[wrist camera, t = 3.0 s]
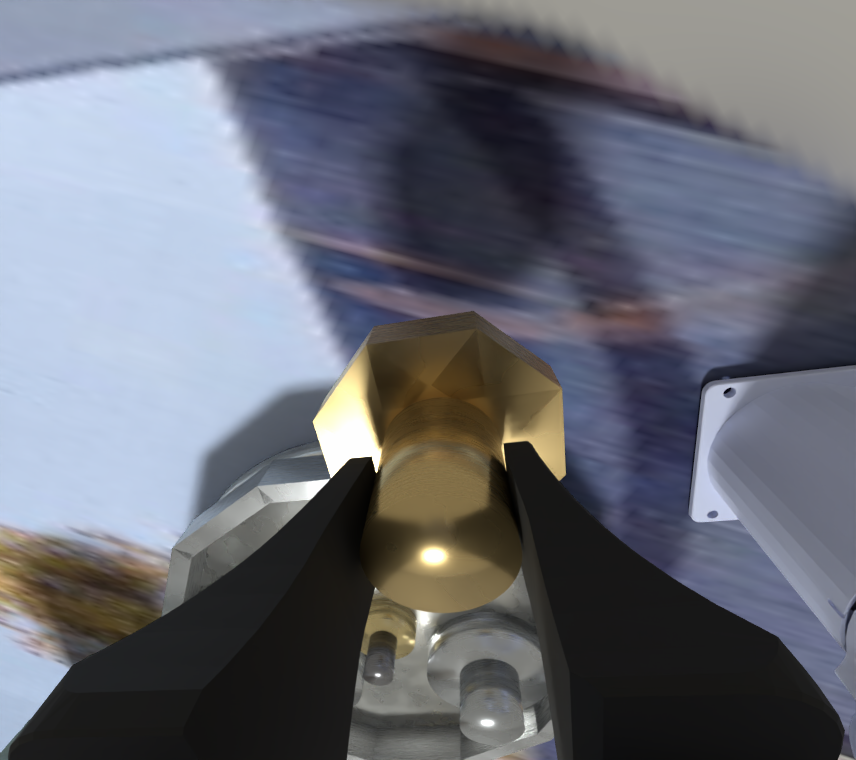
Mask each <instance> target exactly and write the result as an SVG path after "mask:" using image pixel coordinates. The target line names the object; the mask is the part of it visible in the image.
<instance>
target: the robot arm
mask: <svg viewBox="0 0 856 760" xmlns="http://www.w3.org/2000/svg"><path fill="white" fill-rule="evenodd" d="M730 387H731V390H730V391H729V392H728V393H726V394H723V393H724V391H725V390H726V389H727V388H730ZM503 444H504V454H505V463H506V473H507V478H508V483H509V489H510V494H511V498H512V503H513V508H514V513H515V518H516V523H517V528H518V533H519V538H520V543H521V548H522V563H521V568H522V572H523V576H524V580H525V584H526V588H527V592H528V596H529V600H530V604H531V608H532V612H533V616H534V620H535V624H536V629H537V634H538V639H539V643H540V649H541V655H542V662H543V668H544V674H545V681H546V687H547V693H548V700H549V706H550V713H551V719H552V726H553V732H554V738H555V745H556V751H557V758H558V760H838V757H839V755H840V752H841V749H842V745H843V738H844V732H845V730H844V727H843V725H842V722H841V720H840V717H839V715H838V714H837V712H836V711H835V709H834V708H833V707H832V705H831V704H830V702H829V701H828V699H827V698H826V697H825V695H824V694H823V692H822V691H821V689H820V688H819V687H818V685H817V684H816V682H815V681H814V680H813V679H812V677H811V676H810V675H809V674H808V672H807V671H806V670H805V669H804V667H803V666H802V665H801V664H800V663H799V661H798V660H797V659H796V658H795V657H794V656H793V654H792V653H791V652H790V651H789V650H788V649H787V647H786V646H785V645H784V644H783V643H782V641H781V640H780V639H779V638H778V637H777V636H775V635H773V634H771V633H769V632H768V631H766V630H764V629H762V628H760V627H758V626H756V625H754V624H752V623H750V622H749V621H747V620H745V619H743V618H741V617H739V616H737V615H735V614H733V613H731V612H730V611H728V610H726V609H724V608H722V607H720V606H718V605H716V604H715V603H713V602H711V601H709V600H708V599H706V598H704V597H703V596H701V595H699V594H698V593H696V592H694V591H693V590H691V589H689V588H688V587H686V586H684V585H683V584H681V583H679V582H678V581H676V580H675V579H673V578H672V577H670V576H669V575H668V574H666V573H665V572H663V571H662V570H660V569H659V568H657V567H656V566H654V565H653V564H652V563H650V562H649V561H647V560H646V559H644V558H643V557H641V556H640V555H639V554H637V553H636V552H635V551H633V550H632V549H631V548H630V547H628V546H627V545H626V544H624V543H623V542H622V541H621V540H619V539H618V538H617V537H616V536H615V535H614V534H612V533H611V532H610V531H609V530H608V529H606V528H605V527H604V526H603V525H602V524H601V523H600V522H599V521H597V520H596V519H595V518H594V517H593V516H592V515H591V514H590V513H589V512H588V511H587V510H586V509H585V508H584V507H583V506H582V505H581V504H580V503H579V502H578V501H577V500H576V499H575V498H574V497H573V496H572V495H571V494H570V493H569V492H568V490H567V489H566V488H565V487H564V486H563V485H562V484H561V482H560V481H559V480H558V479H557V478H556V477H555V476H554V474H553V473H552V472H551V471H550V469H549V468H548V467H547V465H546V464H545V463H544V462H543V460H542V459H541V457H540V456H539V455H538V453H537V452H536V450H535V448H534V447H533V445H532V444H531V443H530V442H528V441H520V442H510V443H503ZM375 477H376V470H375V466H374V462H373V458H372V456H367V457H357V458H350V459H349V460H348V461H347V462H346V463H345V464H344V465H343V466H342V467H341V468H340V469H339V470H338V471H337V472H336V473H335V474H334V475H333V476H332V478H331V479H330V480H329V481H328V482H327V483H326V484H325V485H324V486H323V487H322V488H321V489H320V490H319V491H318V492H317V494H316V495H315V496H314V497H313V498H312V499H311V500H310V501H309V502H308V503H307V504H306V505H305V506H304V507H303V508H302V509H301V510H300V511H299V512H298V513H297V514H296V515H295V516H294V517H293V518H292V519H291V520H289V521H288V522H287V523H286V524H285V525H284V526H283V527H282V528H281V529H280V530H279V531H278V532H277V533H276V534H275V535H274V536H273V537H271V538H270V539H269V540H268V541H267V542H266V543H264V544H263V545H262V546H261V547H260V548H259V549H257V550H256V551H255V552H254V553H252V554H251V555H250V556H249V557H247V558H246V559H245V560H244V561H243V562H241V563H240V564H239V565H237V566H236V567H235V568H233V569H232V570H231V571H229V572H228V573H226V574H225V575H224V576H222V577H221V578H219V579H218V580H217V581H215V582H214V583H212V584H211V585H209V586H208V587H207V588H205V589H204V590H202V591H201V592H200V593H198V594H197V595H195V596H194V597H192V598H191V599H189V600H188V601H186V602H184V603H183V604H181V605H180V606H178V607H177V608H175V609H173V610H172V611H170V612H169V613H167V614H165V615H164V616H162V617H160V618H159V619H157V620H155V621H154V622H152V623H150V624H149V625H147V626H145V627H143V628H142V629H140V630H138V631H136V632H135V633H133V634H131V635H129V636H127V637H125V638H124V639H122V640H120V641H118V642H116V643H114V644H112V645H110V646H109V647H107V648H105V649H103V650H101V651H99V652H97V653H95V654H94V655H92V656H90V657H88V658H86V659H84V660H82V661H80V662H78V663H76V664H74V665H73V666H72V667H71V668H70V669H69V671H68V672H67V673H66V675H65V676H64V677H63V679H62V680H61V681H60V682H59V684H58V685H57V686H56V688H55V689H54V690H53V691H52V693H51V694H50V695H49V697H48V698H47V699H46V700H45V702H44V703H43V704H42V705H41V707H40V708H39V709H38V711H37V712H36V713H35V714H34V716H33V717H32V718H31V720H30V721H29V722H28V723H27V725H26V726H25V727H24V729H23V730H22V731H21V732H20V734H19V735H18V736H17V738H16V739H15V740H14V741H13V743H12V744H11V745H10V748H9V753H8V760H347V753H348V743H349V735H350V727H351V719H352V710H353V702H354V694H355V687H356V680H357V673H358V665H359V658H360V652H361V646H362V641H363V636H364V631H365V627H366V623H367V619H368V615H369V611H370V606H371V602H372V598H373V594H374V590H375V587H374V586H373V585H372V583H371V582H370V581H369V580H368V578H367V576H366V575H365V573H364V570H363V568H362V565H361V561H360V543H361V539H362V535H363V530H364V526H365V521H366V517H367V512H368V508H369V503H370V499H371V495H372V490H373V486H374V481H375ZM710 511H712V512H711V513H709V512H710ZM689 515H690V516H691V518H692V519H693V520H694V521H696V522H710V521H724V520H737V519H739V520H740V522H741V523H742V524H743V525H744V527H745V528H746V529H747V530H748V532H749V533H750V534H751V535H752V537H753V538H754V539H755V540H756V542H757V543H758V544H759V545H760V547H761V548H762V549H763V550H764V552H765V553H766V554H767V555H768V557H769V558H770V559H771V560H772V562H773V563H774V564H775V565H776V567H777V568H778V569H779V570H780V572H781V573H782V574H783V575H784V576H785V578H786V579H787V580H788V581H789V583H790V584H791V585H792V586H793V588H794V589H795V590H796V591H797V593H798V594H799V595H800V596H801V598H802V599H803V600H804V601H805V603H806V604H807V605H808V606H809V608H810V609H811V610H812V611H813V613H814V614H815V615H816V616H817V618H818V619H819V620H820V621H821V623H822V624H823V625H824V626H825V628H826V629H827V630H828V631H829V633H830V634H831V635H832V636H833V638H834V639H835V640H836V641H837V643H838V644H839V645H840V646H841V648H842V649H843V650H844V651H845V653H846V656H845V658H844V660H843V661H842V663H841V664H840V665H839V666H838V667H837V668H836V669H835V673H836V675H837V676H838V677H839V679H840V680H841V681H842V683H843V684H844V685H845V687H846V688H847V689H848V691H849V692H850V693H851V695H852V696H853V697H854V699H855V700H856V365H852V366H843V367H834V368H825V369H815V370H806V371H797V372H788V373H779V374H770V375H761V376H752V377H743V378H734V379H725V380H716V381H712V382H709V383H708V384H706V385H705V386H704V388H703V390H702V395H701V404H700V413H699V422H698V431H697V440H696V449H695V458H694V467H693V476H692V485H691V494H690V503H689ZM849 738H850V743H851V747H852V751H853V755H854V758H855V760H856V713H855V714H854V715H853V717H852V720H851V723H850V726H849Z"/></svg>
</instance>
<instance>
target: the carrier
mask: <svg viewBox="0 0 856 760" xmlns="http://www.w3.org/2000/svg"><path fill="white" fill-rule="evenodd" d="M330 479H331V475H330V472H329V469H328V466H327V463H326V460H325V457H324V454H323V451H322V448H321V445H320V442H319V441H315V442H311V443H308V444H304V445H301V446H298V447H294V448H291V449H288V450H286V451H284V452H281V453H279V454H277V455H275V456H273V457H270V458H268V459H266V460H264V461H263V462H261V463H259V464H258V465H256V466H255V467H253V468H252V469H250V470H249V471H247V472H245V473H244V474H243V475H242V476H241V477H240V478H239V479H237V480H236V481H235V482H234V483H233V484H232V485H231V486H230V487H228V489H227V490H226V491H225V493H224V494H223V495H222V496H221V498H220V499H219V500H218V501H217V503H215V504H214V505H212V506H211V507H210V508H208V509H207V510H206V511H204V512H203V513H202V514H200V515H199V516H198V517H196V518H195V519H194V520H193V522H192V523H191V524H190V526H189V527H188V528H187V529H186V531H185V532H184V533H183V535H182V536H181V537H180V539H179V540H178V541H177V543H176V544H175V545H174V547H173V548H172V554H171V560H170V566H169V572H168V579H167V585H166V591H165V597H164V603H163V610H162V616H164V615H165V614H167V613H169V612H170V611H172V610H173V609H175V608H177V607H178V606H180V605H181V604H183V603H184V602H186V601H188V600H189V599H191V598H192V597H194V596H195V595H197V594H198V593H200V592H201V591H202V590H204V589H205V588H207V587H208V586H209V585H211V584H212V583H214V582H215V581H217V580H218V579H219V578H221V577H222V576H224V575H225V574H226V573H228V572H229V571H231V570H232V569H233V568H235V567H236V566H237V565H239V564H240V563H241V562H243V561H244V560H245V559H246V558H247V557H249V556H250V555H251V554H252V553H254V552H255V551H256V550H257V549H259V548H260V547H261V546H262V545H263V544H264V543H266V542H267V541H268V540H269V539H270V538H271V537H273V536H274V535H275V534H276V533H277V532H278V531H279V530H280V529H281V528H282V527H283V526H284V525H285V524H286V523H287V522H288V521H289V520H291V519H292V518H293V517H294V516H295V515H296V514H297V513H298V512H299V511H300V510H301V509H302V508H303V507H304V506H305V505H306V504H307V503H308V502H309V501H310V500H311V499H312V498H313V497H314V496H315V495H316V494H317V492H318V491H319V490H320V489H321V488H322V487H323V486H324V485H325V484H326V483H327V482H328V481H329V480H330ZM162 616H161V617H162ZM553 738H554V732H553V726H552V719H551V713H550V706H549V700H548V693H547V687H546V681H545V674H544V668H543V662H542V655H541V649H540V643H539V639H538V634H537V629H536V624H535V620H534V616H533V612H532V608H531V604H530V600H529V596H528V592H527V588H526V584H525V580H524V576H523V572H522V568H520V571H519V573H518V575H517V577H516V579H515V581H514V582H513V583H512V585H511V586H510V587H509V588H508V589H507V590H506V591H505V592H504V593H503V594H502V595H500V596H499V597H498V598H496V599H494V600H493V601H491V602H489V603H487V604H485V605H483V606H480V607H477V608H474V609H471V610H466V611H462V612H454V613H432V612H425V611H420V610H415V609H412V608H409V607H406V606H403V605H401V604H398V603H396V602H394V601H393V600H391V599H389V598H387V597H386V596H385V595H383V594H382V593H381V592H379V591H378V590H377V589H376V588H375V590H374V594H373V598H372V602H371V606H370V611H369V615H368V619H367V623H366V627H365V631H364V636H363V641H362V646H361V652H360V658H359V665H358V673H357V680H356V687H355V694H354V702H353V710H352V719H351V727H350V735H349V743H348V753H347V760H494V759H497V758H500V757H503V756H506V755H509V754H512V753H515V752H518V751H521V750H523V749H526V748H529V747H532V746H535V745H538V744H541V743H544V742H547V741H550V740H552V739H553Z"/></svg>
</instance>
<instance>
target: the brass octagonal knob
mask: <svg viewBox="0 0 856 760" xmlns="http://www.w3.org/2000/svg"><path fill="white" fill-rule="evenodd" d="M313 424H314V427H315V430H316V433H317V436H318V439H319V442H320V445H321V448H322V451H323V454H324V457H325V460H326V463H327V466H328V469H329V472H330V475H331V478H332V476H333V475H334V474H335V473H336V472H337V471H338V470H339V469H340V468H341V467H342V466H343V465H344V464H345V463H346V462H347V461H348V460H349V459H350V458H357V457H367V456H372V458H373V462H374V466H375V470H376V477H375V481H374V486H373V490H372V495H371V499H370V503H369V508H368V512H367V517H366V521H365V526H364V530H363V535H362V539H361V543H360V561H361V565H362V568H363V570H364V573H365V575H366V576H367V578H368V580H369V581H370V582H371V583H372V585H373V586H374V587H375V588H376V589H377V590H378V591H379V592H381V593H382V594H383V595H385V596H386V597H387V598H389V599H391V600H393V601H394V602H396V603H398V604H401V605H403V606H406V607H409V608H412V609H415V610H420V611H425V612H432V613H454V612H462V611H466V610H471V609H474V608H477V607H480V606H483V605H485V604H487V603H489V602H491V601H493V600H494V599H496V598H498V597H499V596H500V595H502V594H503V593H504V592H505V591H506V590H507V589H508V588H509V587H510V586H511V585H512V583H513V582H514V581H515V579H516V577H517V575H518V573H519V571H520V568H521V563H522V548H521V543H520V538H519V533H518V528H517V523H516V518H515V513H514V508H513V503H512V498H511V494H510V489H509V483H508V478H507V473H506V463H505V454H504V444H503V443H510V442H520V441H528V442H530V443H531V444H532V445H533V447H534V448H535V450H536V452H537V453H538V455H539V456H540V457H541V459H542V460H543V462H544V463H545V464H546V465H547V467H548V468H549V469H550V471H551V472H552V473H553V474H554V476H555V477H556V478H557V479H558V480H559V481H560V480H561V479H562V478H563V477H564V476H565V475H566V467H565V444H564V422H563V399H562V387H561V386H560V384H559V382H558V380H557V378H556V376H555V374H554V372H553V370H552V368H551V367H550V365H548V364H547V363H545V362H544V361H543V360H541V359H540V358H538V357H537V356H536V355H534V354H533V353H531V352H530V351H529V350H527V349H526V348H524V347H523V346H522V345H520V344H519V343H517V342H516V341H515V340H513V339H512V338H511V337H509V336H508V335H506V334H505V333H504V332H502V331H501V330H499V329H498V328H497V327H495V326H494V325H492V324H491V323H490V322H488V321H487V320H485V319H484V318H483V317H481V316H480V315H478V314H477V313H476V312H474V311H470V312H464V313H457V314H451V315H444V316H438V317H431V318H425V319H418V320H412V321H405V322H399V323H392V324H386V325H379V326H374V327H373V329H372V330H371V332H370V333H369V335H368V336H367V338H366V339H365V340H364V342H363V343H362V345H361V346H360V348H359V349H358V351H357V352H356V353H355V355H354V356H353V358H352V359H351V361H350V362H349V364H348V365H347V367H346V368H345V369H344V371H343V372H342V374H341V375H340V377H339V378H338V380H337V381H336V383H335V384H334V385H333V387H332V388H331V390H330V391H329V393H328V394H327V396H326V397H325V399H324V401H323V403H322V405H321V407H320V409H319V411H318V412H317V414H316V416H315V418H314V420H313Z"/></svg>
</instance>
